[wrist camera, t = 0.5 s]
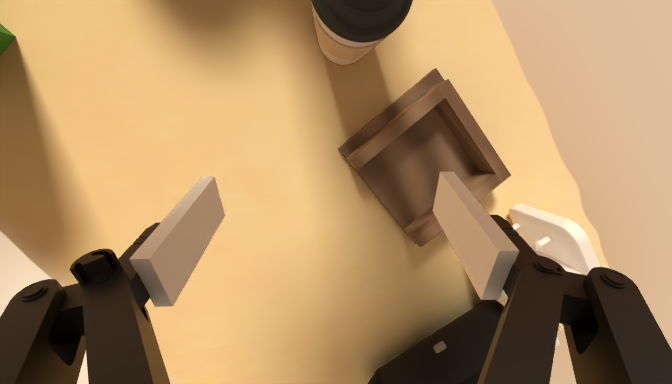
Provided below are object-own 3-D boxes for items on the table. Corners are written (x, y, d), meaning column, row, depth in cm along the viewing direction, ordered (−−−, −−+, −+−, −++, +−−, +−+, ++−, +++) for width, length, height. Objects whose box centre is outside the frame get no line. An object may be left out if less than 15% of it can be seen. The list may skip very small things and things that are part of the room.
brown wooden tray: (412, 241, 42) (426, 255, 37) (338, 148, 38) (342, 150, 33) (500, 171, 41) (525, 176, 36) (432, 69, 37) (451, 59, 32)
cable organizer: (546, 273, 46) (625, 319, 34) (490, 307, 46) (550, 363, 34) (511, 199, 42) (585, 222, 31) (451, 235, 42) (503, 272, 31)
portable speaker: (490, 278, 45) (540, 318, 35) (515, 321, 47) (569, 370, 37) (358, 363, 46) (372, 425, 36) (389, 401, 48) (410, 470, 38)
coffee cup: (305, 69, 36) (304, 24, 21) (310, -9, 34) (312, -118, 19) (374, 77, 37) (418, 39, 22) (382, 1, 35) (435, -95, 20)
